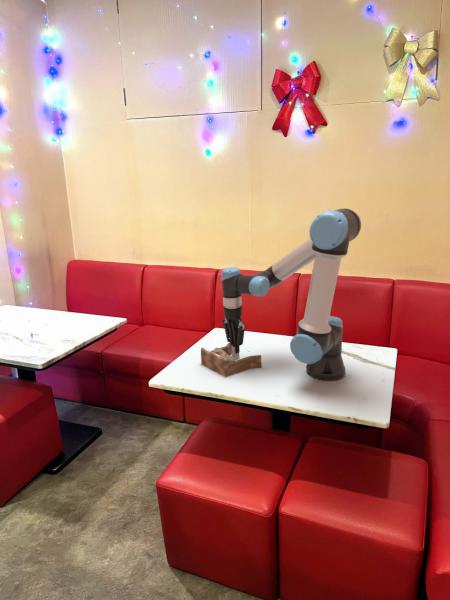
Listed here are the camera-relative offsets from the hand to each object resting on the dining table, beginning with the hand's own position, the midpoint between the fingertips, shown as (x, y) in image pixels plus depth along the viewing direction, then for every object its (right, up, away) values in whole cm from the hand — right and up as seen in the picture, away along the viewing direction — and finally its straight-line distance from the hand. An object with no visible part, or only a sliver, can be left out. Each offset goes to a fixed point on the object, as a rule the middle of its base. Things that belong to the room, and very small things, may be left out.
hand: (235, 359), depth 179 cm
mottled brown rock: (-3, -3, -2) cm, 5 cm away
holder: (-3, -2, -2) cm, 4 cm away
